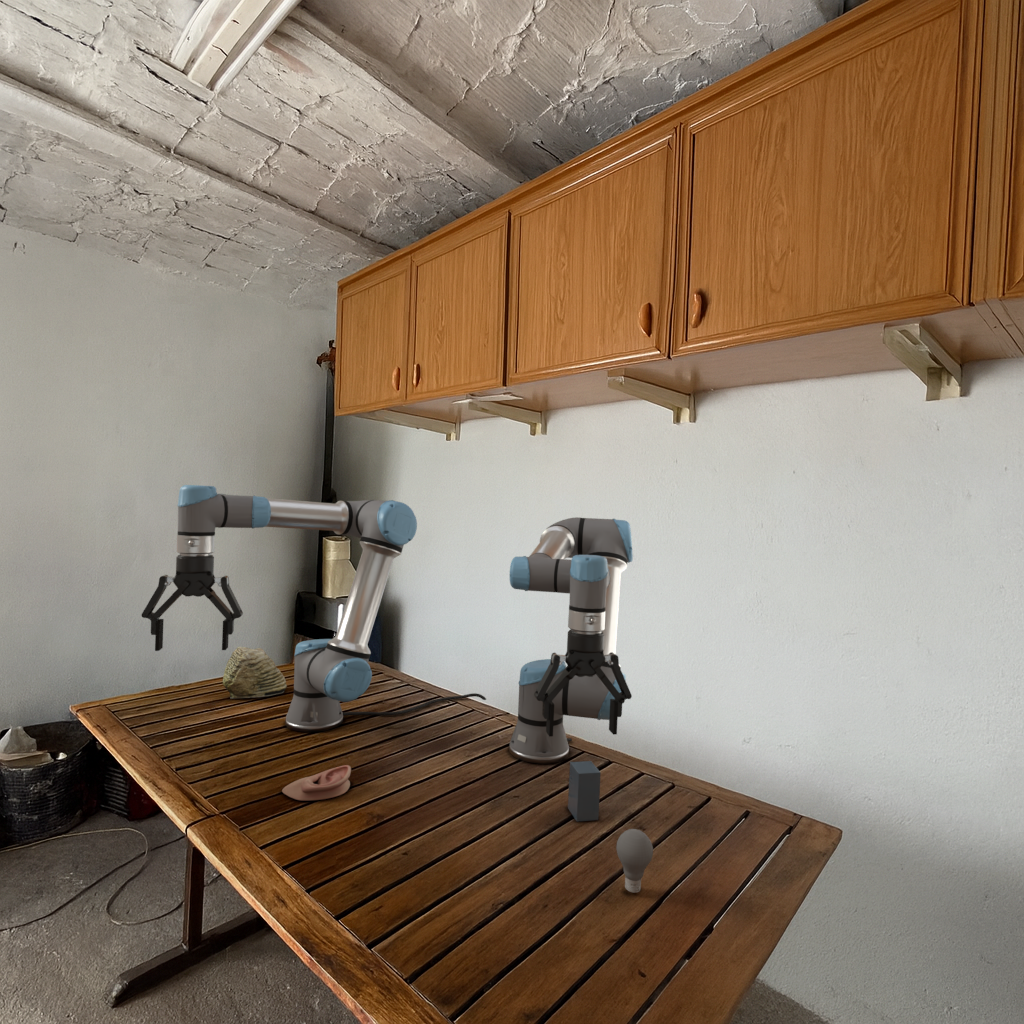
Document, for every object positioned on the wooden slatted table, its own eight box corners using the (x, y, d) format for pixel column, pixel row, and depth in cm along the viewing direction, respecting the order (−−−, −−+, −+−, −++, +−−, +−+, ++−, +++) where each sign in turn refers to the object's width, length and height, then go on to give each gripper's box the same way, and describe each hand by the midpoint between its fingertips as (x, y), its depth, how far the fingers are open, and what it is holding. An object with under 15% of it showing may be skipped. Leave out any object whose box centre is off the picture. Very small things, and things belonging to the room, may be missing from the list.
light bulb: (610, 879, 108) (613, 822, 108) (644, 879, 109) (647, 822, 109) (619, 902, 102) (622, 840, 102) (655, 901, 103) (658, 840, 103)
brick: (576, 821, 128) (578, 773, 128) (567, 808, 134) (569, 761, 133) (598, 820, 129) (600, 772, 129) (588, 806, 135) (591, 760, 135)
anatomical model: (274, 778, 132) (303, 756, 144) (273, 796, 132) (302, 774, 144) (333, 786, 130) (357, 764, 141) (332, 805, 130) (357, 781, 141)
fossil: (218, 695, 195) (220, 647, 195) (278, 685, 208) (279, 640, 207) (228, 703, 189) (230, 653, 188) (289, 692, 201) (290, 645, 201)
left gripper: (127, 554, 135) (123, 653, 135) (252, 557, 140) (248, 652, 141) (139, 551, 142) (136, 645, 142) (257, 554, 147) (254, 644, 148)
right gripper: (531, 634, 124) (526, 741, 124) (650, 634, 129) (645, 738, 129) (523, 626, 131) (518, 728, 132) (636, 627, 136) (631, 724, 137)
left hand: (192, 649), depth 141 cm, fingers open, 13 cm apart
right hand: (581, 733), depth 130 cm, fingers open, 13 cm apart
